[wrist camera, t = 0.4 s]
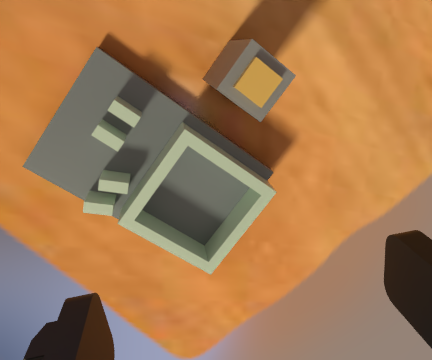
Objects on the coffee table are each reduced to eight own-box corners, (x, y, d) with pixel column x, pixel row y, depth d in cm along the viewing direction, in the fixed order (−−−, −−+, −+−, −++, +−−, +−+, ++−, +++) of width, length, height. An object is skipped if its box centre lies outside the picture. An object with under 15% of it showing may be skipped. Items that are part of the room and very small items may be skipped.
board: (98, 47, 30) (91, 47, 27) (269, 168, 36) (281, 181, 33) (27, 162, 32) (12, 176, 29) (199, 258, 38) (204, 279, 35)
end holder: (182, 121, 32) (184, 128, 29) (267, 180, 35) (276, 192, 32) (120, 209, 34) (117, 223, 31) (206, 257, 37) (210, 274, 34)
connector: (229, 40, 31) (254, 38, 24) (264, 68, 33) (298, 76, 25) (202, 79, 32) (218, 89, 24) (237, 105, 34) (263, 123, 26)
